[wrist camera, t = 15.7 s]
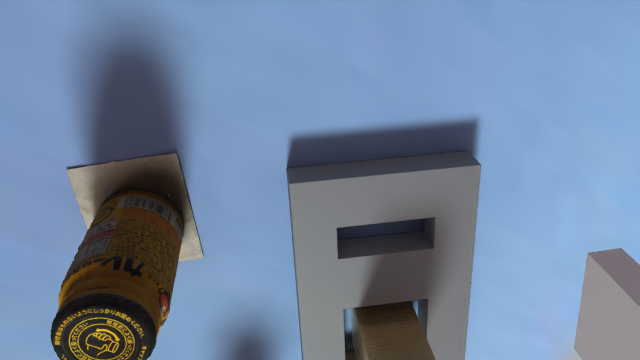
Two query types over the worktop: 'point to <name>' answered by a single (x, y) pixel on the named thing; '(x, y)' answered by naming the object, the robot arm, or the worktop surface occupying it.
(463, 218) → the socket plate
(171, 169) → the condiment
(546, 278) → the worktop surface
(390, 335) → the brass peg
